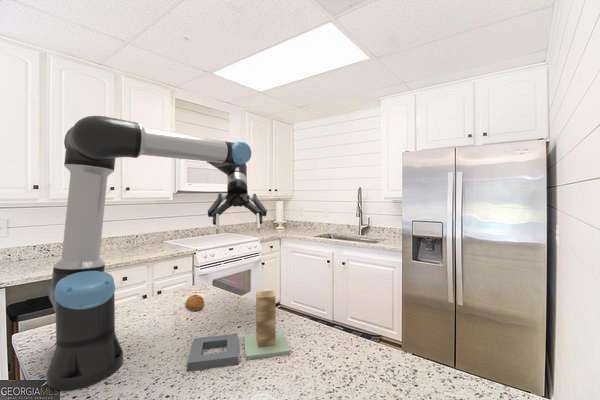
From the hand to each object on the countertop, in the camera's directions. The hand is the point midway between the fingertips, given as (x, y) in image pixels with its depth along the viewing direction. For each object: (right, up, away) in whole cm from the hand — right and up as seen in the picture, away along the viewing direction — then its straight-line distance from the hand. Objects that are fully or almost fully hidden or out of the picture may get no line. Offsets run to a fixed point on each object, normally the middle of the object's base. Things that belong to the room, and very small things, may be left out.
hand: (238, 230), depth 95 cm
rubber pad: (+11, -32, -13) cm, 36 cm away
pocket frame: (-3, -32, -17) cm, 36 cm away
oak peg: (+11, -31, -13) cm, 35 cm away
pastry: (-20, -32, +16) cm, 41 cm away
